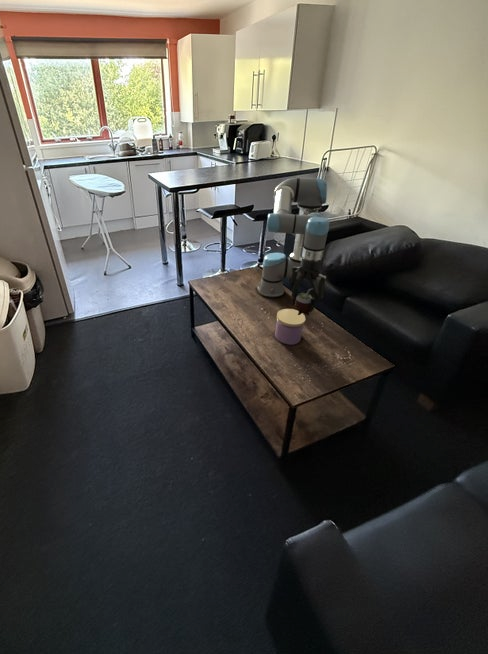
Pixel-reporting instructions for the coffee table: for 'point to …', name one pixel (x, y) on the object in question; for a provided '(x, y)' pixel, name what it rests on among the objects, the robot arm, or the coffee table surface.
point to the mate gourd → (303, 302)
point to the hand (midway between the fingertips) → (302, 307)
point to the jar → (289, 326)
